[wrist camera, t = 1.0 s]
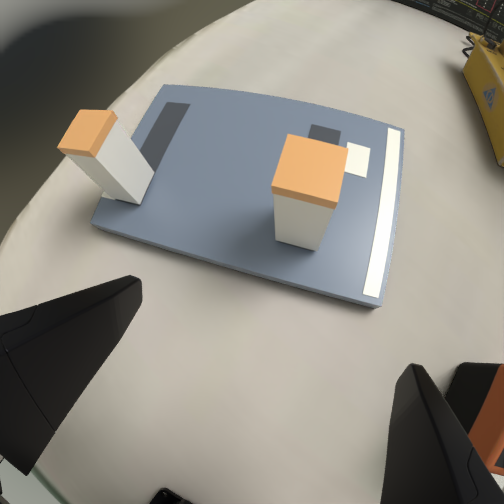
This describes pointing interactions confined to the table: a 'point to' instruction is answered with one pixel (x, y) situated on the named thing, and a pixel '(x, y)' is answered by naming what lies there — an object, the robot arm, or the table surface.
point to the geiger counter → (488, 84)
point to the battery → (481, 409)
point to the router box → (466, 14)
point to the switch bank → (261, 189)
